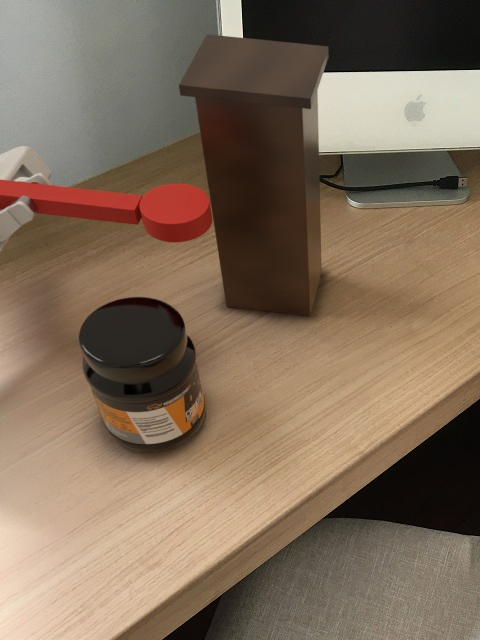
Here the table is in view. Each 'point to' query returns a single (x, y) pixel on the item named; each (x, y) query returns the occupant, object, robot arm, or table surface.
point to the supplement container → (143, 373)
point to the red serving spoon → (122, 207)
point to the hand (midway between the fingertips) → (38, 194)
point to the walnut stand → (262, 166)
